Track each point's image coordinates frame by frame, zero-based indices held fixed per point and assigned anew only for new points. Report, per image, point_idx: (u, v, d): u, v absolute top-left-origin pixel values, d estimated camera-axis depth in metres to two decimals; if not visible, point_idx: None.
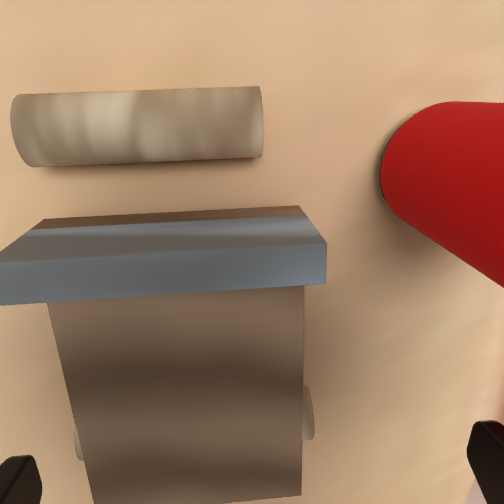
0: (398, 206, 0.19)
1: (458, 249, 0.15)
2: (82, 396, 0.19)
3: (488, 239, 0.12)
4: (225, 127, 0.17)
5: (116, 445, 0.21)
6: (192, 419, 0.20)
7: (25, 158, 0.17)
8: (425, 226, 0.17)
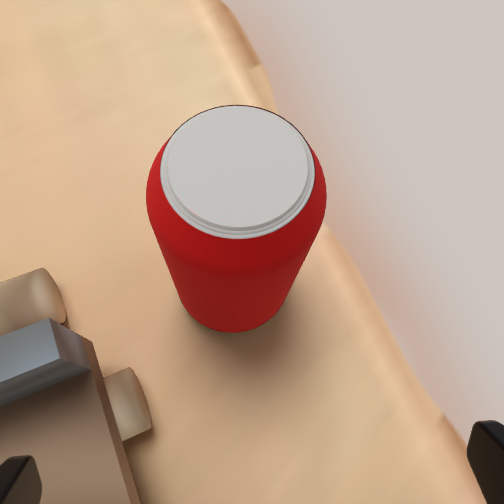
0: (191, 310, 0.20)
1: (189, 286, 0.16)
2: None
3: (159, 242, 0.14)
4: (7, 299, 0.20)
5: None
6: None
7: None
8: (191, 300, 0.18)
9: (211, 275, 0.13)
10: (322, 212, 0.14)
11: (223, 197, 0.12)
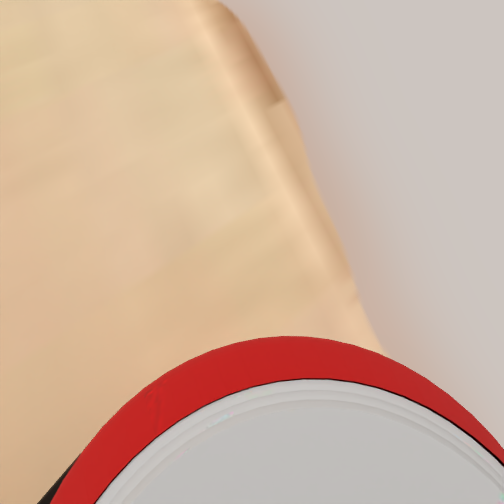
0: None
1: None
2: None
3: None
4: None
5: None
6: None
7: None
8: None
9: None
10: None
11: None
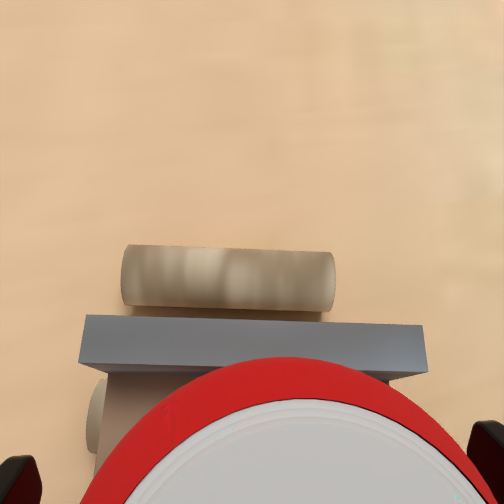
0: None
1: None
2: None
3: None
4: (303, 271, 0.20)
5: None
6: None
7: (123, 287, 0.19)
8: None
9: None
10: None
11: None
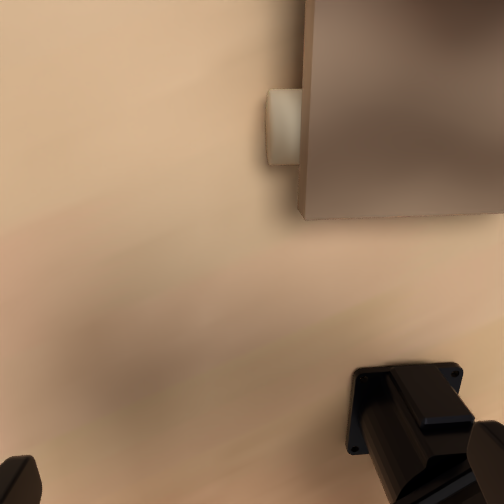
0: None
1: None
2: None
3: None
4: None
5: (361, 85, 0.14)
6: (478, 44, 0.14)
7: None
8: None
9: None
10: None
11: None
